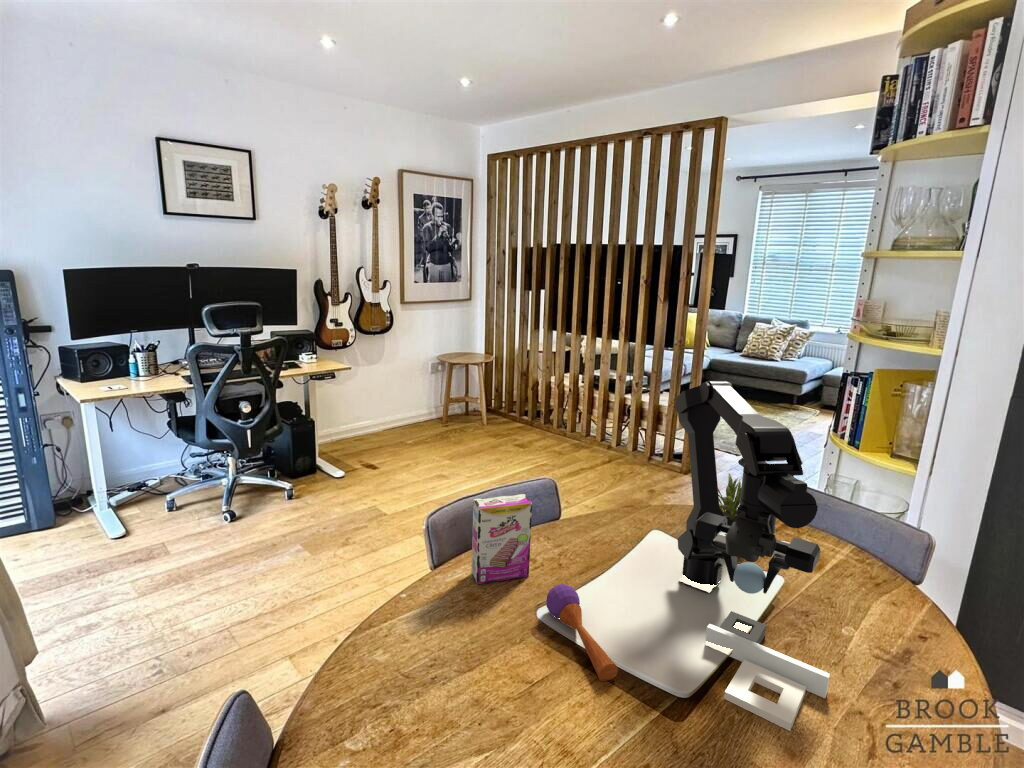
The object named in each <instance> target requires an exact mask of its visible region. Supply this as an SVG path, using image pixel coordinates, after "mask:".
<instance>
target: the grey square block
mask: <svg viewBox="0 0 1024 768" xmlns="http://www.w3.org/2000/svg"><path fill="white" fill-rule="evenodd" d="M736 622H740V623H742V624H745V625H748V626H752V630H751V632H750V634H749V633H746V632H744V631H741V630H739V629H736V628H734V627H733V626H734V625H735V623H736ZM719 628H722V629H724V630H726V631H729V632H731V633H734V634H736V635H738V636H741V637H743V638H746V639H748V640H750V641H753V642H755V643H758V644H760V645H761V643H762V641H763V640H764V638H765V636H766V631H767V624H766V623H762V622H760V621H758V620H755V619H752V618H750V617H747V616H745V615H743V614H740V613H738V612H735V611H732V610H730V611H729V613H728V615H727V616H726V618H725V619H724V621H722V623H721V624H720V626H719Z"/></svg>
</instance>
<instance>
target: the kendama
mask: <svg viewBox="0 0 1024 768" xmlns="http://www.w3.org/2000/svg"><path fill="white" fill-rule="evenodd" d="M545 602H546V603H545V605H546V608H547V610H548V612H549V613H550V615H551V616H552V615H553V617H554V616H555V617H556V618H555V617H554V618H555V619H557V618H560V622H561V623H562V624H564V625H566V626H567V627H570V628H572V629H575V630H576V631H577V633H578V636H579V638H580V640H581V643H582V644H583V647H584V648H585V651H586V652H587V654H588V657H589V659H590V662H591V664H592V667H593V668H594V671H595V673H596V674H597V677H598V679H599V681H601V682H606V681H610V680H614V679H615V677H617V675H618V672H619V667H618V665H617V664H616V663H615V662H614V660H613V659H612V658H611V657H610V656H609V654H607V653H606V651H605V650H604V649H603V648H602V647H601V646H600V645H599V644H598V642H597V641H596V640H595V639H594V638H593V636H592V635H591V634H590V633H589V632H588V631H587V630H586V628H585V627H584V626H583V619H582V617H583V615H582V614H583V612H582V608H581V606H580V604H581V603H580V596H579V594H578V592H577V591H576V590H575V588H573V586H570V585H568V584H566V583H565V584H564V583H561V584H556V585H555V586H553V587H551V589H550V590H549V591H548V593H547V595H546V601H545Z"/></svg>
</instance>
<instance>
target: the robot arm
mask: <svg viewBox="0 0 1024 768" xmlns="http://www.w3.org/2000/svg"><path fill="white" fill-rule="evenodd" d="M674 403H675V404H674V405H675V406H674V407H675V411H676V412H677V417H678V418H677V419H678V422H679V424H680V426H681V427H682V429H683V430H684V431H685V433H686V434H687V438H688V451H689V462H690V476H691V477H690V478H691V487H692V488H691V489H692V502H693V504H692V505H693V508H692V510H691V512H690V513H689V515H688V517H687V519H686V522H685V524H686V525H685V526H686V527H685V529H686V530H685V531H684V532H683V533H681V534H680V535H679V536H678V537H677V549H678V550H679V552H680V553H681V555H682V556H683V562H682V563H683V566H682V573H681V574H683V575H685V576H686V577H687V578H688V579H690V580H691V581H694V582H697V583H700V584H710V585H713V584H714V585H717V584H718V582H719V581H720V580H721V581H722V572H723V564H722V563H721V559H723V561H724V563H725V566H726V570H727V574H728V577H729V581H730V582H731V583H734V582H735V581H734V571H735V569H736V567H737V566H738V558H740V559H743V560H745V562H751V563H755V562H757V561H758V560H759V557H761V558H764V557H768V558H770V559H769V560H768V568H767V573H766V574H765V576H766V579H765V583H764V588H763V589H762V593H763V594H764V595H766V594H767V592H768V591H769V589H770V588H771V585H772V584H773V582H774V580H775V579H776V577H777V574H778V573H780V571H781V570H786V571H787V570H790V568H791V569H794V570H797V571H801V572H805V573H806V574H808V573H809V574H811V573H814V571H815V568H816V567H817V564H818V563H819V561H820V558H821V557H820V556H821V551H822V550H821V547H820V546H819V544H818V543H815V542H812V541H809V540H806V539H802V538H798V537H795V536H794V537H793V539H792V540H791V541H790V542H788V541H785V540H778V539H777V538H776V535H775V533H776V528H777V527H776V526H777V525H776V524H777V519H778V521H780V522H782V523H783V524H784V525H785V526H787V527H788V528H792V529H800V528H804V527H806V526H808V525H809V524H810V523H812V522H813V520H814V519H815V517H816V515H817V513H818V510H819V509H818V508H819V507H818V504H817V500H816V499H815V497H814V496H813V495H812V494H811V493H810V492H808V483H807V482H805V481H803V480H800V479H798V478H796V477H797V476H803V475H804V470H803V467H802V465H803V463H804V462H803V461H802V458H801V456H800V453H799V451H798V449H797V446H796V441H795V438H794V436H793V434H792V432H791V430H790V429H789V428H788V427H787V426H786V425H784V424H783V423H781V422H779V421H777V420H775V419H773V418H769V417H766V416H763V415H761V414H760V413H758V412H757V411H756V410H755V408H754V407H752V406H751V405H750V404H749V403H748V402H747V401H746V399H744V398H743V397H742V396H741V395H740V394H739V393H738V392H737V391H736V390H735V389H734V386H733V384H732V382H730V381H726V380H707V381H704V382H702V383H700V385H697V386H694V387H691V388H688V389H685V390H682V391H681V393H680V394H679V395H678V396H677V397H676V398H675V402H674ZM721 418H722V419H723V421H724V422H725V423H726V424H727V426H729V428H730V429H732V431H733V432H734V434H735V435H736V438H735V442H734V443H735V446H736V448H737V449H738V451H739V453H740V455H741V457H742V458H740V459H739V460H738V461H737V462H738V465H740V466H742V467H743V469H742V479H741V495H740V503H739V506H738V508H737V510H736V511H737V513H736V517H735V519H734V520H733V522H732V523H731V519H730V517H729V516H725V514H724V513H723V512H724V510H723V509H722V510H723V511H722V510H721V508H720V506H719V504H720V502H719V499H720V497H719V495H720V494H719V492H718V489H719V486H718V474H717V460H716V451H715V438H714V433H715V431H716V429H717V427H718V425H719V423H720V421H721V420H722V419H721ZM768 462H784V463H768ZM785 462H786V463H785ZM742 467H741V468H742ZM718 494H719V495H718Z"/></svg>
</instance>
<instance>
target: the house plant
mask: <svg viewBox="0 0 1024 768" xmlns="http://www.w3.org/2000/svg"><path fill="white" fill-rule="evenodd" d="M738 479H739V477H737V478H735V479H733V477H732V475H731V473H730V472H728V479H727V480H728V481H727V483H728V484H727V486H726V488H725V495H726V496H723V495H722V493H721V491H720V489H719V488H718V495H719V506H720V508H721V510H722V511H723V513H724V514H725V516H729V517H730V519H731V523H732V522H733V520H734V519H735V517H736V513H737V509H738V506H739V504H740V495H741V486H742V481H741V479H739V481H738ZM737 481H738V482H737Z"/></svg>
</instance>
